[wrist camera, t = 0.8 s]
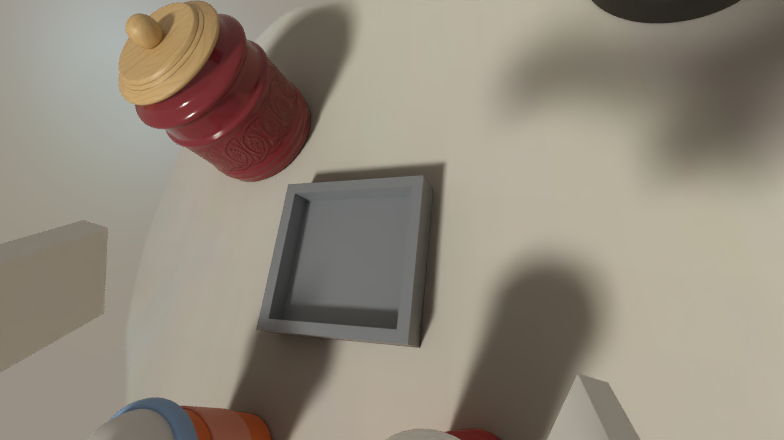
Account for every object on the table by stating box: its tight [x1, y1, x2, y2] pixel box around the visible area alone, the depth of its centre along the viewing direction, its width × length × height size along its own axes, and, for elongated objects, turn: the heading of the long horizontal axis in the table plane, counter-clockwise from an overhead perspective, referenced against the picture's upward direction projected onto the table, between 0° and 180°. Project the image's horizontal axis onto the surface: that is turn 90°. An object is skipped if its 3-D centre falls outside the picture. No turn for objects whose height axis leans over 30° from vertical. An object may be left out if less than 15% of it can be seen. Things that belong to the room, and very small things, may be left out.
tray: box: [257, 175, 433, 348], centre depth 36 cm, size 14×14×3 cm
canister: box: [119, 1, 311, 182], centre depth 40 cm, size 13×13×18 cm
